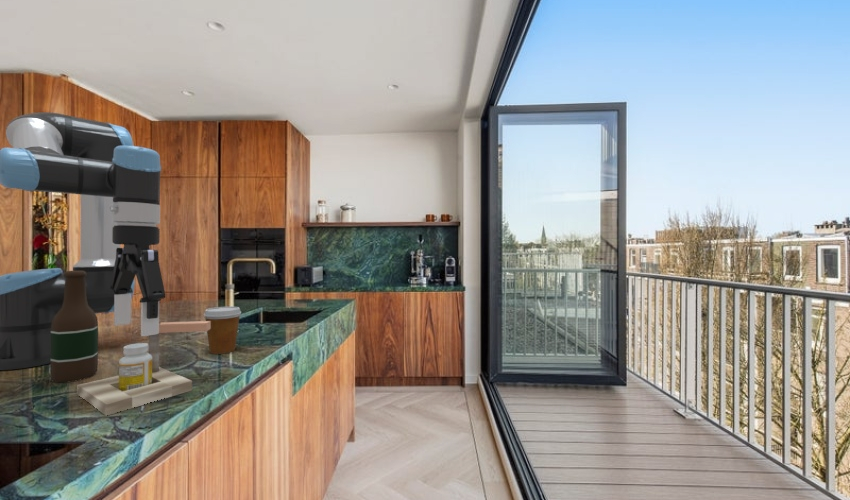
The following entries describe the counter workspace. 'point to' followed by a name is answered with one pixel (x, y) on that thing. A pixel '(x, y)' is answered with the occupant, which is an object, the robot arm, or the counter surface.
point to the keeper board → (114, 400)
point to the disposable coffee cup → (222, 328)
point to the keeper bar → (184, 326)
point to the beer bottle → (74, 333)
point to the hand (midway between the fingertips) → (135, 329)
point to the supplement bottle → (135, 367)
